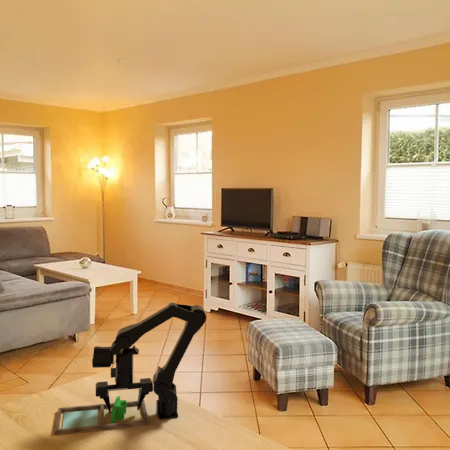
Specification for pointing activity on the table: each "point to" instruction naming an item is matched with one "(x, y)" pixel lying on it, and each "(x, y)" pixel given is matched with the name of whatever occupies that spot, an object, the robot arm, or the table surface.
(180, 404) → the table surface
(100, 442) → the table surface
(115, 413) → the pipe clamp
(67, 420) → the sorting frame
